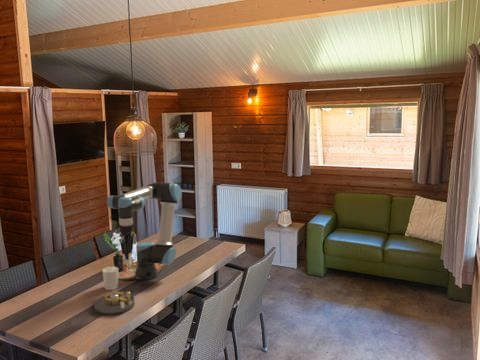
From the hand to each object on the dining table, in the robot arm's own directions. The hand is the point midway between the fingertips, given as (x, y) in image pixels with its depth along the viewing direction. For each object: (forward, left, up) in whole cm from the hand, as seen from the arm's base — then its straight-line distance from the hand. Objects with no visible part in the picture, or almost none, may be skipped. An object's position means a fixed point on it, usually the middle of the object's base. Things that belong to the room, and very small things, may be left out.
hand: (128, 264), depth 235 cm
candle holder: (-14, -25, -25) cm, 38 cm away
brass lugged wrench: (+6, -3, -21) cm, 22 cm away
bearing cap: (+6, -6, -24) cm, 26 cm away
